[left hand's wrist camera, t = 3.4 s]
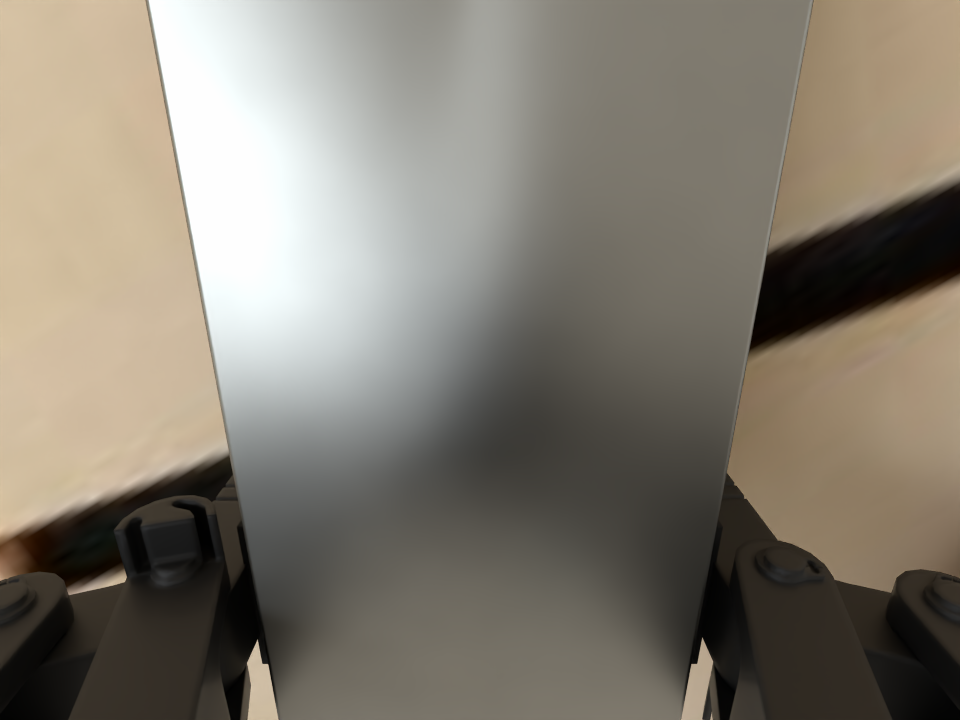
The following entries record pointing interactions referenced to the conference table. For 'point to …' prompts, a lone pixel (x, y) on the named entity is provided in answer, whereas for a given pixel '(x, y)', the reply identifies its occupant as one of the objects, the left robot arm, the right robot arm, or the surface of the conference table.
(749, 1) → the bar
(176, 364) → the conference table surface
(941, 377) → the conference table surface
